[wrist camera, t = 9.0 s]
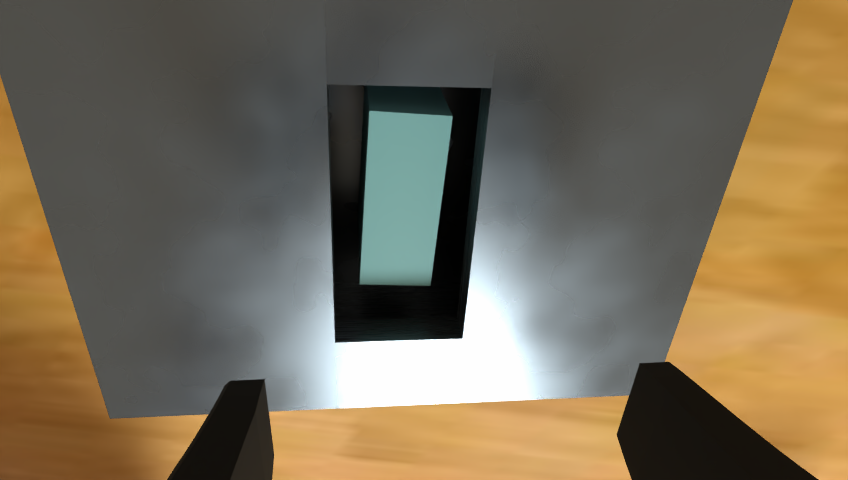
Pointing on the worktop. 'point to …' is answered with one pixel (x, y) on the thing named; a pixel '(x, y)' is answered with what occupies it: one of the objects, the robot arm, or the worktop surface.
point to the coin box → (339, 188)
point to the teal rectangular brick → (401, 182)
